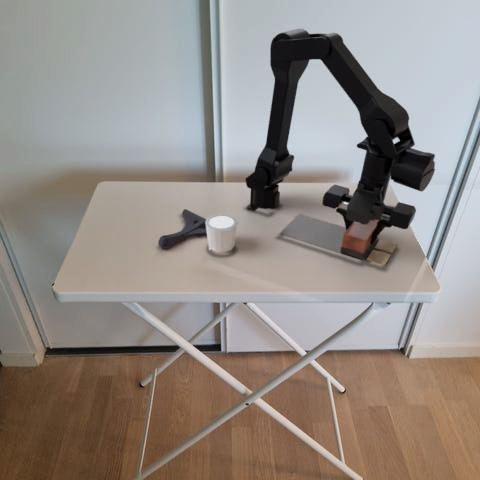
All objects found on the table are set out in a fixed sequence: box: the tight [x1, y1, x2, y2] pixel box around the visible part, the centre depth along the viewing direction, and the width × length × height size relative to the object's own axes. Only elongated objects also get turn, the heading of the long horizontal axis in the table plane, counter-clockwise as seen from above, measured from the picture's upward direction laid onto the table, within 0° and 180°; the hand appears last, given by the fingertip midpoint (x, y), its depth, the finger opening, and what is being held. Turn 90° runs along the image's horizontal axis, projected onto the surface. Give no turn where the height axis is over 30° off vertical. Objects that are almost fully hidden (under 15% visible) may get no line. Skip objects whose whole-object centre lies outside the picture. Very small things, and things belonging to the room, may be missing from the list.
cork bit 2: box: [366, 249, 391, 266], centre depth 101 cm, size 4×4×2 cm
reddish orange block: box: [340, 220, 379, 259], centre depth 102 cm, size 5×11×5 cm, turn 150°
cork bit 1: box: [374, 238, 398, 255], centre depth 104 cm, size 4×4×2 cm
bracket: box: [157, 208, 207, 250], centre depth 106 cm, size 14×15×3 cm
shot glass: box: [205, 213, 238, 253], centre depth 101 cm, size 7×7×7 cm
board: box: [279, 213, 379, 261], centre depth 107 cm, size 20×11×1 cm, turn 60°
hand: (360, 240), depth 103 cm, fingers closed on reddish orange block, 5 cm apart
